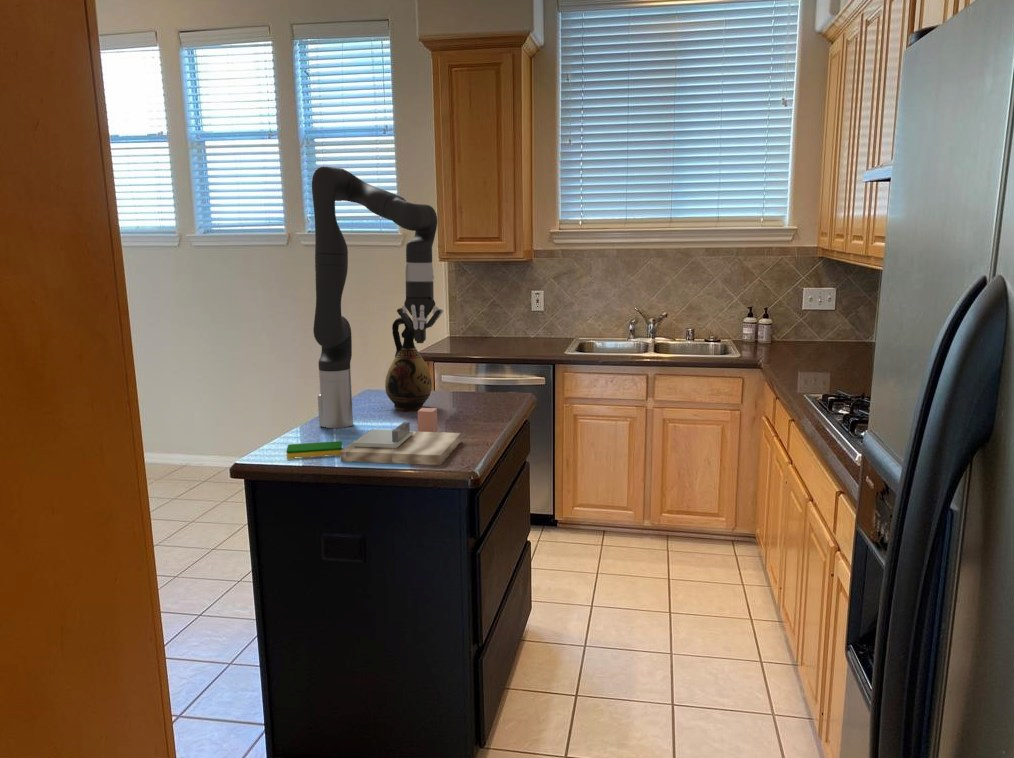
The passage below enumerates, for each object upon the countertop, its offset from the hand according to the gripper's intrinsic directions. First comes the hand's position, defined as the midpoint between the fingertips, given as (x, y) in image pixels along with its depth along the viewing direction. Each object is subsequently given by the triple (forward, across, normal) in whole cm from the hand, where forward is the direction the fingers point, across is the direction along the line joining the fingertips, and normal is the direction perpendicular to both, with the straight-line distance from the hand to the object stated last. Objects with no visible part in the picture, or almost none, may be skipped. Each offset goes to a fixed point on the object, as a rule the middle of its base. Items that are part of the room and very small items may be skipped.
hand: (420, 342), depth 206 cm
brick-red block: (+27, 0, +5) cm, 27 cm away
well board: (+27, -1, -14) cm, 30 cm away
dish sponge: (+28, -23, -20) cm, 41 cm away
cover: (+24, -6, -14) cm, 29 cm away
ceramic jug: (+27, -16, +36) cm, 48 cm away
